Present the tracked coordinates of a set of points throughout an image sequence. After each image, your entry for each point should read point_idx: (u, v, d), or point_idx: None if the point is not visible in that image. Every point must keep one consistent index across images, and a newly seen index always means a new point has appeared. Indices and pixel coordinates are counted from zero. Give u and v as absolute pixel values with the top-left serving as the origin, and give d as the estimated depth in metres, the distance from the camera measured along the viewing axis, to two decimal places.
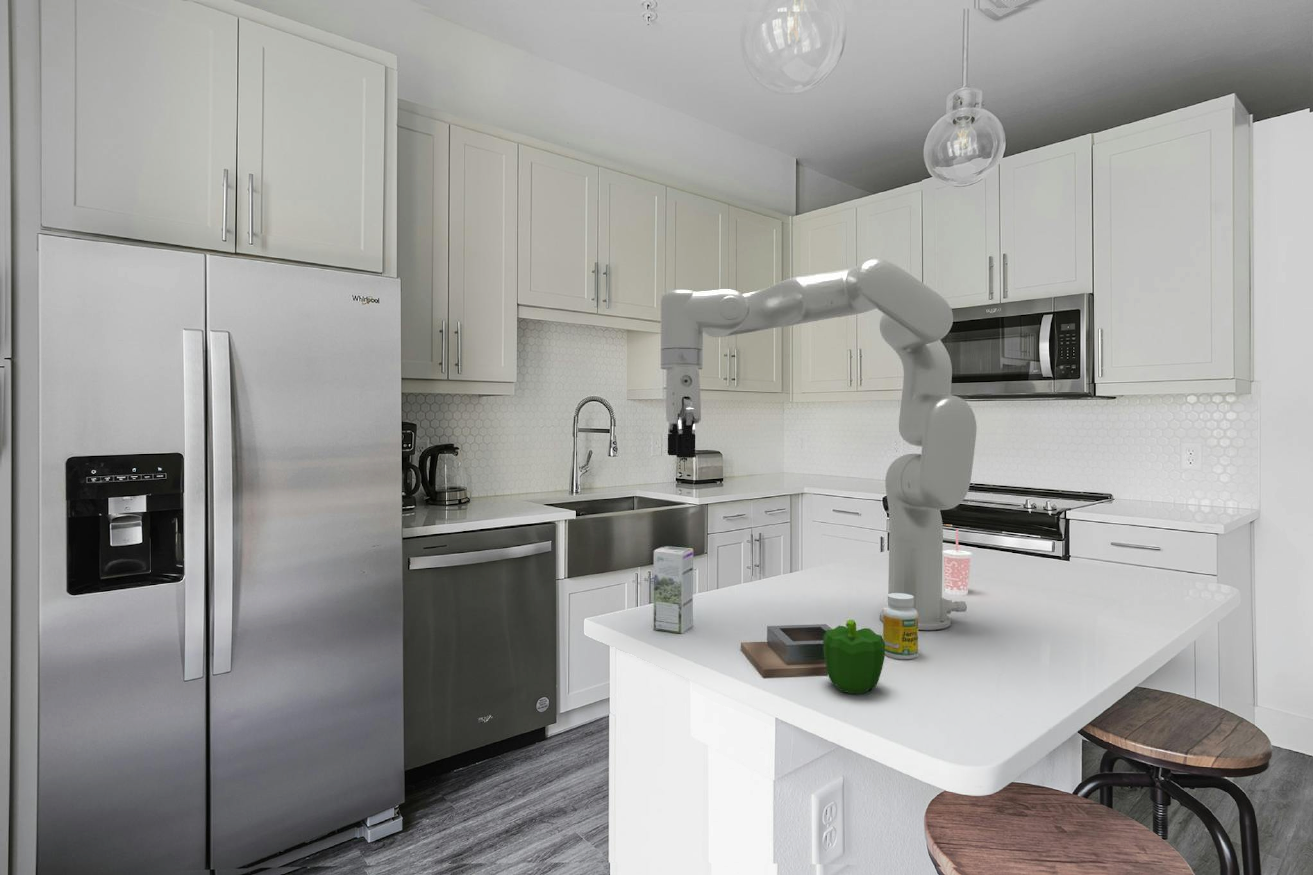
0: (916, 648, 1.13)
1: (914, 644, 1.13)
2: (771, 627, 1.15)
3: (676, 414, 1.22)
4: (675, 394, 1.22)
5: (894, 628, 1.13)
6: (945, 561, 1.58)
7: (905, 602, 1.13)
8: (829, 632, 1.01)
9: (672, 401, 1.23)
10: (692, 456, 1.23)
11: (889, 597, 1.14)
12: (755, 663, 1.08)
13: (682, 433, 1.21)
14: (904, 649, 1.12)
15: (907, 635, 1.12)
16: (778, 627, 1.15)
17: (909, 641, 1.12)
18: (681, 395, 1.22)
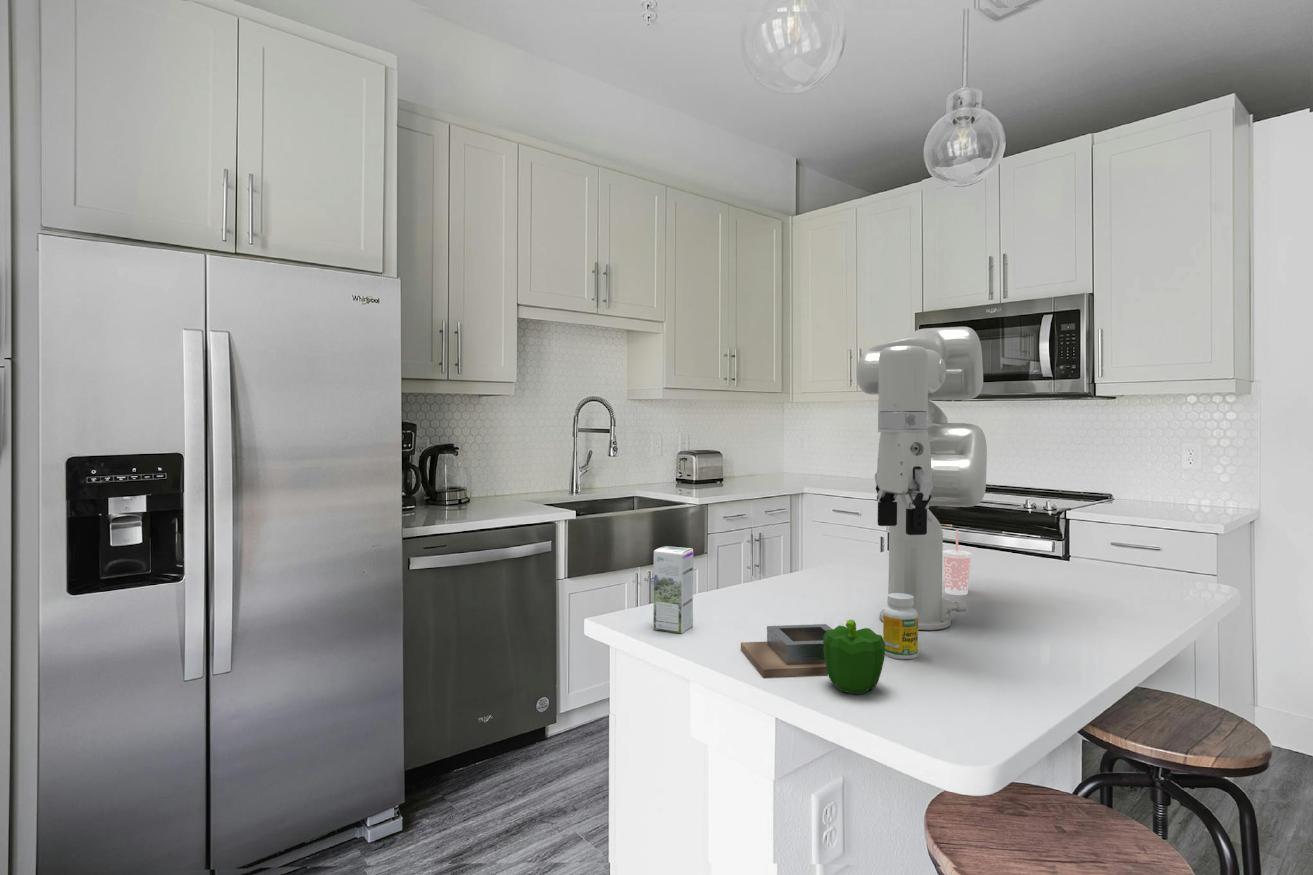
0: (916, 648, 1.13)
1: (914, 644, 1.13)
2: (771, 627, 1.15)
3: (906, 486, 1.09)
4: (905, 464, 1.09)
5: (894, 628, 1.13)
6: (945, 561, 1.58)
7: (905, 602, 1.13)
8: (829, 632, 1.01)
9: (899, 471, 1.10)
10: (923, 533, 1.09)
11: (889, 597, 1.14)
12: (755, 663, 1.08)
13: (915, 508, 1.08)
14: (904, 649, 1.12)
15: (907, 635, 1.12)
16: (778, 627, 1.15)
17: (909, 641, 1.12)
18: (912, 465, 1.09)
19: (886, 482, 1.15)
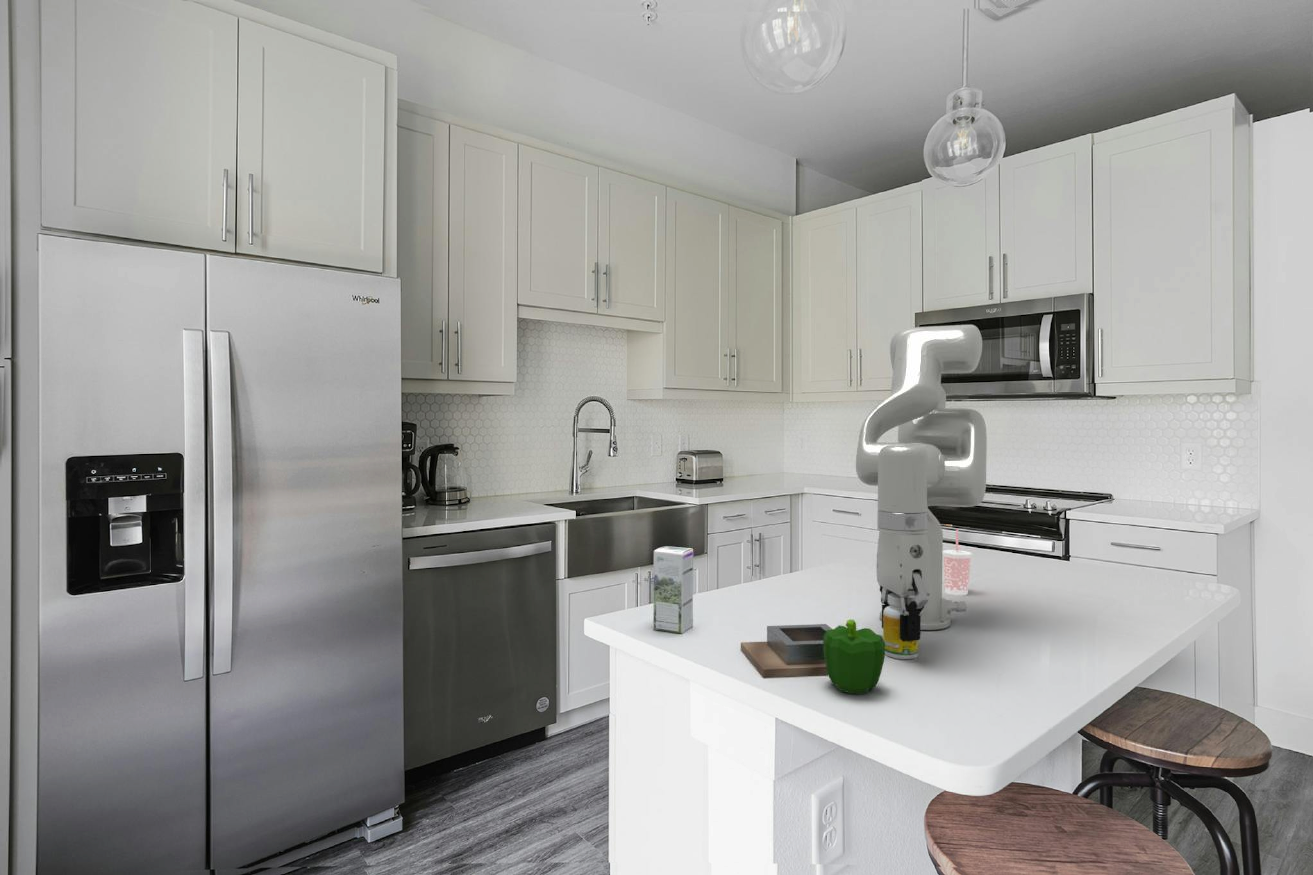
0: (916, 648, 1.13)
1: (914, 644, 1.13)
2: (771, 627, 1.15)
3: (906, 589, 1.10)
4: (904, 566, 1.10)
5: (894, 628, 1.13)
6: (945, 561, 1.58)
7: None
8: (829, 632, 1.01)
9: (899, 573, 1.11)
10: (917, 638, 1.12)
11: (889, 597, 1.14)
12: (755, 663, 1.08)
13: (908, 615, 1.10)
14: (904, 649, 1.12)
15: None
16: (778, 627, 1.15)
17: (909, 641, 1.12)
18: (911, 568, 1.10)
19: (885, 580, 1.15)
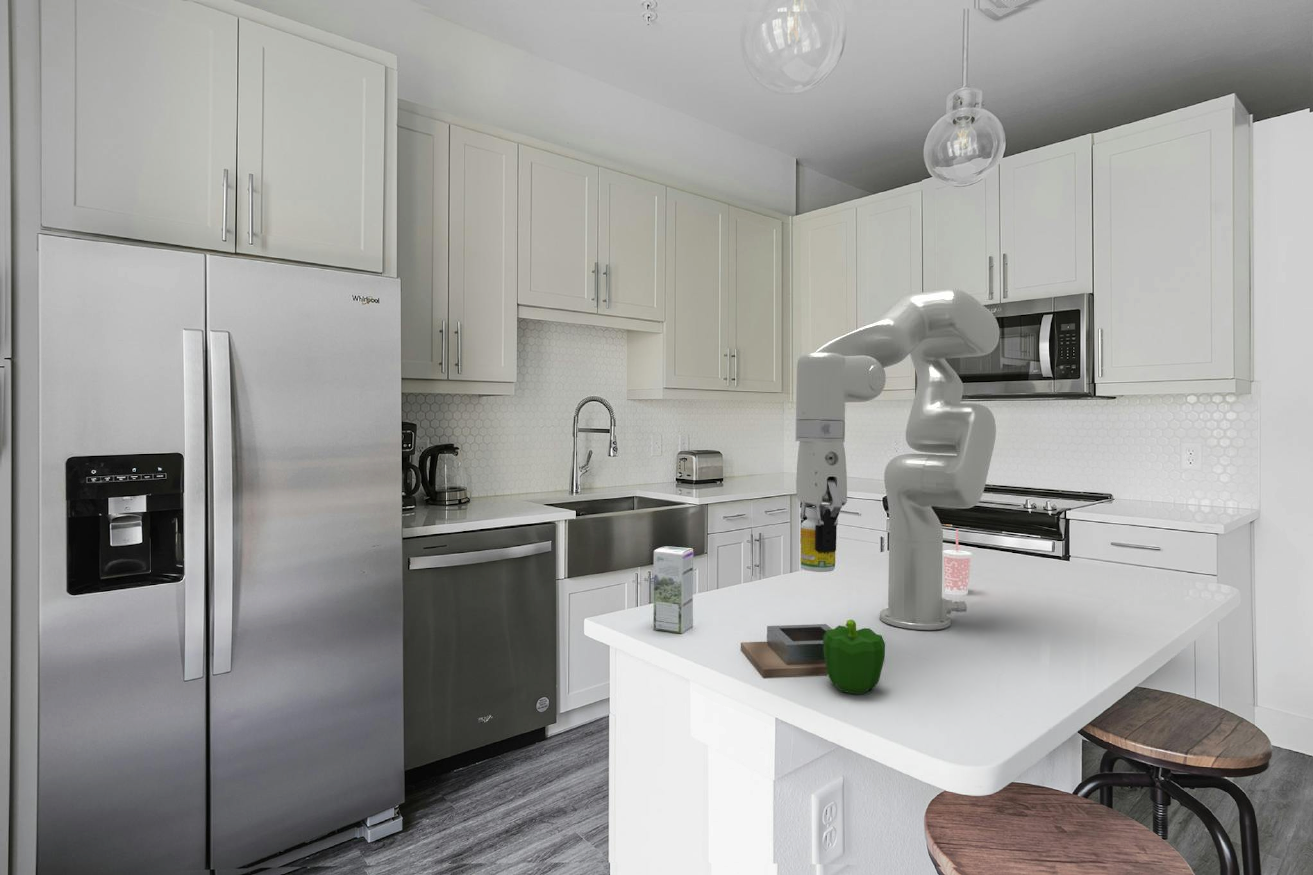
0: (833, 560, 1.10)
1: (831, 557, 1.09)
2: (771, 627, 1.15)
3: (820, 497, 1.06)
4: (819, 473, 1.06)
5: (810, 539, 1.09)
6: (945, 561, 1.58)
7: None
8: (829, 632, 1.01)
9: (814, 481, 1.07)
10: (833, 550, 1.08)
11: (806, 509, 1.11)
12: (755, 663, 1.08)
13: (823, 524, 1.07)
14: (820, 561, 1.09)
15: None
16: (778, 627, 1.15)
17: (826, 553, 1.09)
18: (826, 475, 1.06)
19: (803, 492, 1.12)
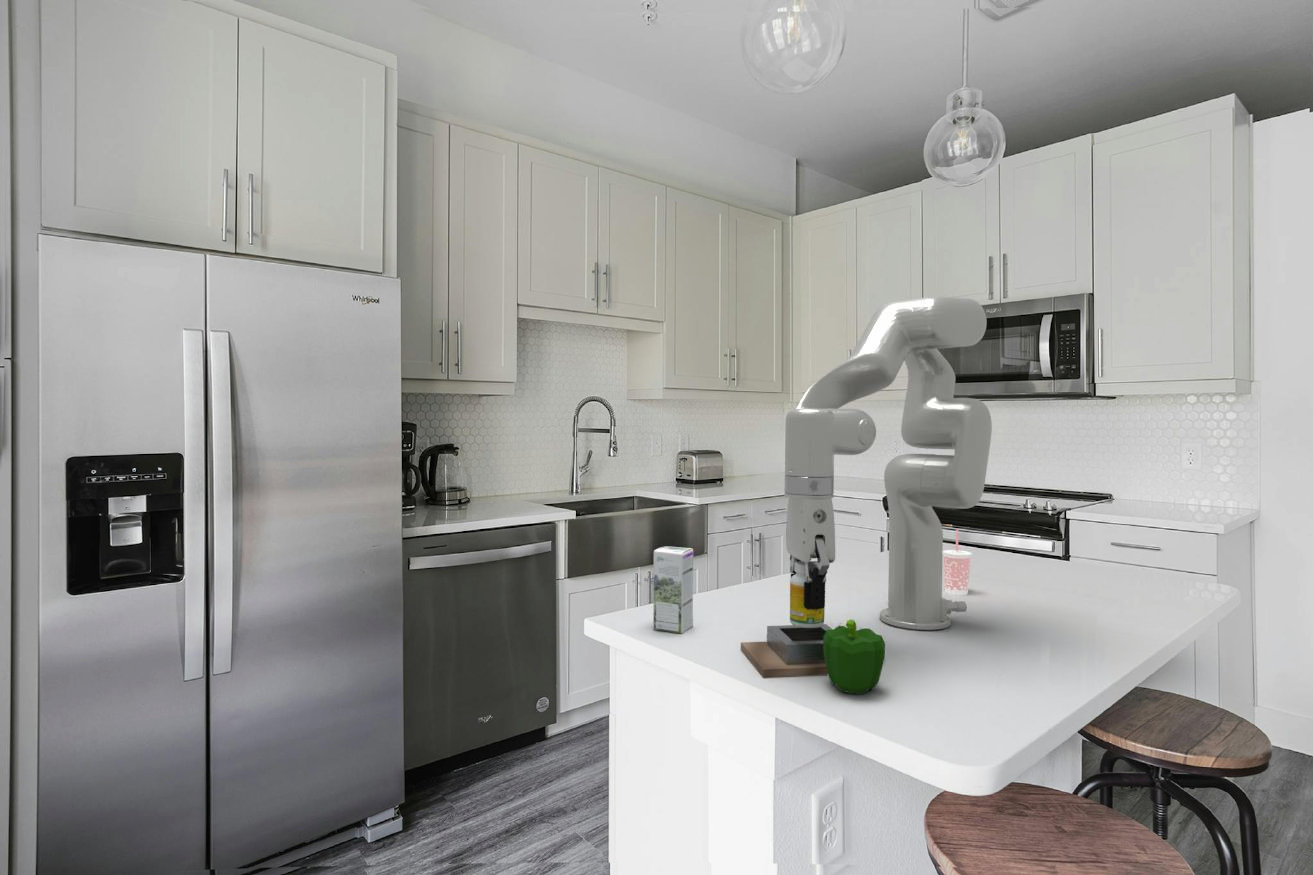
0: (822, 616, 1.10)
1: (820, 613, 1.09)
2: (771, 627, 1.15)
3: (808, 555, 1.06)
4: (807, 531, 1.06)
5: (799, 596, 1.09)
6: (945, 561, 1.58)
7: None
8: (829, 632, 1.01)
9: (802, 538, 1.07)
10: (821, 607, 1.08)
11: (795, 564, 1.11)
12: (755, 663, 1.08)
13: (812, 582, 1.07)
14: (809, 618, 1.09)
15: None
16: (778, 627, 1.15)
17: (814, 609, 1.09)
18: (814, 533, 1.06)
19: (792, 547, 1.12)
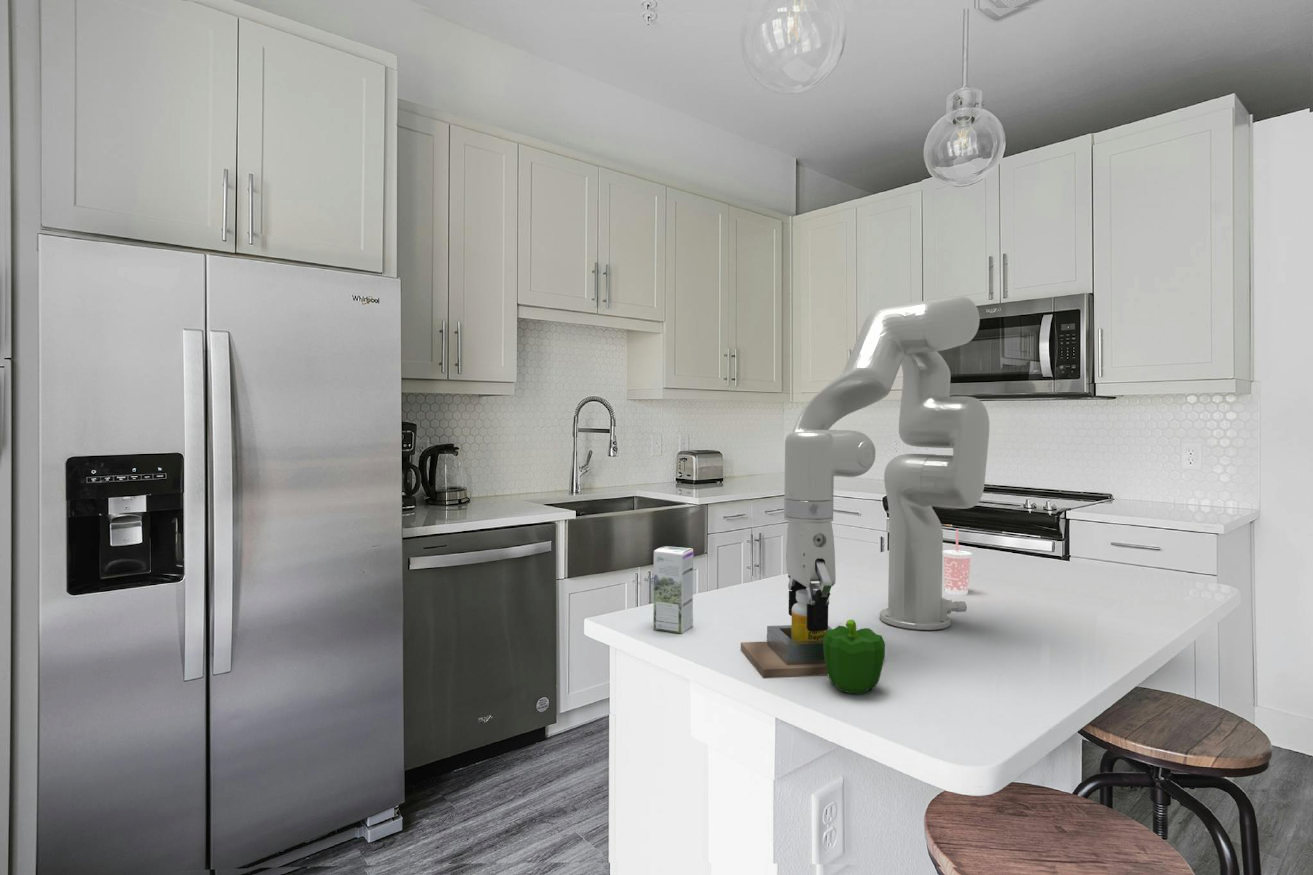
0: None
1: None
2: (771, 627, 1.15)
3: (808, 579, 1.06)
4: (807, 556, 1.06)
5: (800, 625, 1.09)
6: (945, 561, 1.58)
7: None
8: (829, 632, 1.01)
9: (802, 562, 1.07)
10: (825, 629, 1.07)
11: (797, 593, 1.11)
12: (755, 663, 1.08)
13: (815, 604, 1.06)
14: None
15: (813, 632, 1.09)
16: (778, 627, 1.15)
17: (816, 639, 1.09)
18: (814, 557, 1.06)
19: (792, 570, 1.12)
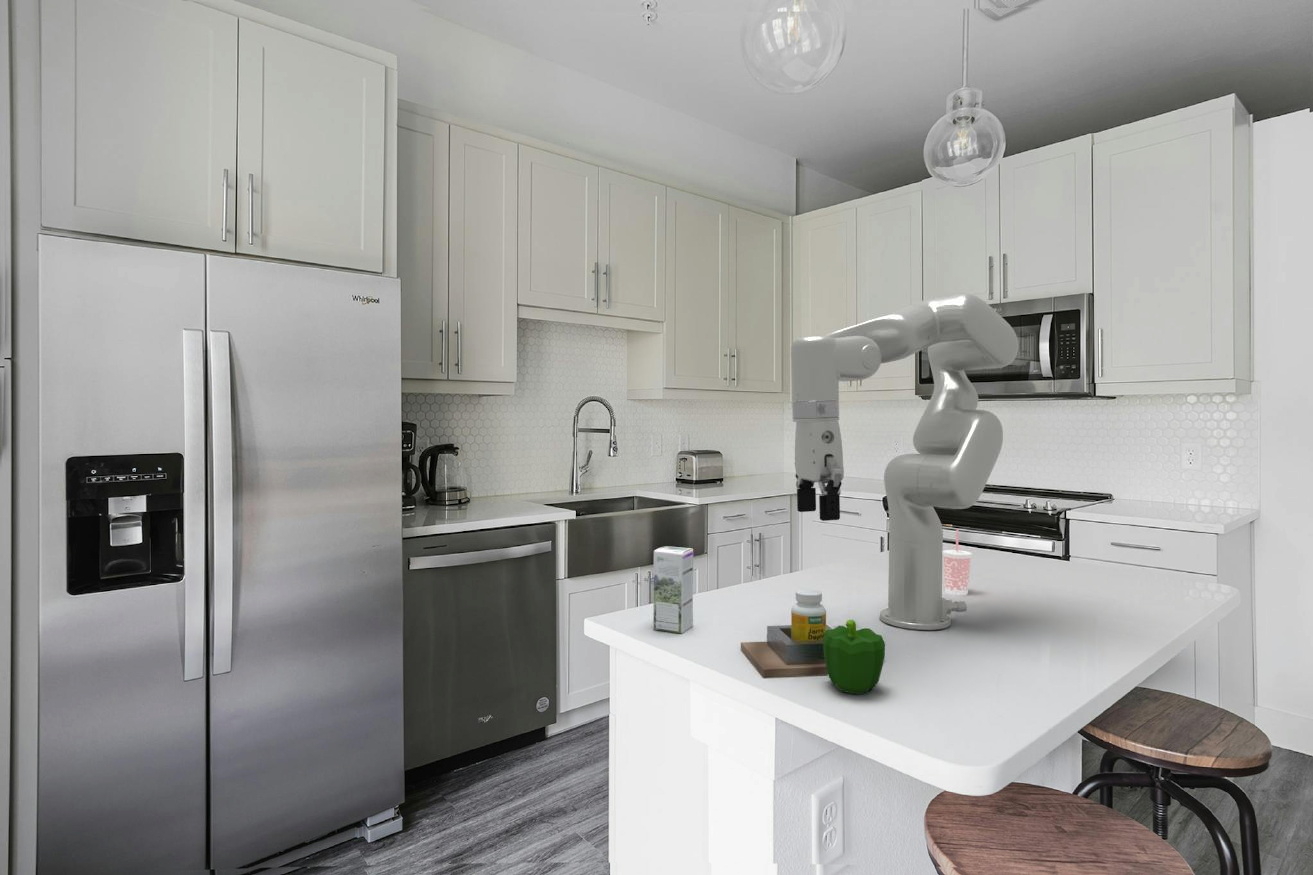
0: None
1: None
2: (771, 627, 1.15)
3: (818, 474, 1.13)
4: (816, 452, 1.13)
5: (800, 625, 1.09)
6: (945, 561, 1.58)
7: (811, 599, 1.09)
8: (829, 632, 1.01)
9: (812, 459, 1.14)
10: (837, 518, 1.13)
11: (796, 593, 1.11)
12: (755, 663, 1.08)
13: (827, 494, 1.12)
14: None
15: (813, 632, 1.09)
16: (778, 627, 1.15)
17: (816, 638, 1.09)
18: (823, 453, 1.12)
19: (802, 470, 1.18)
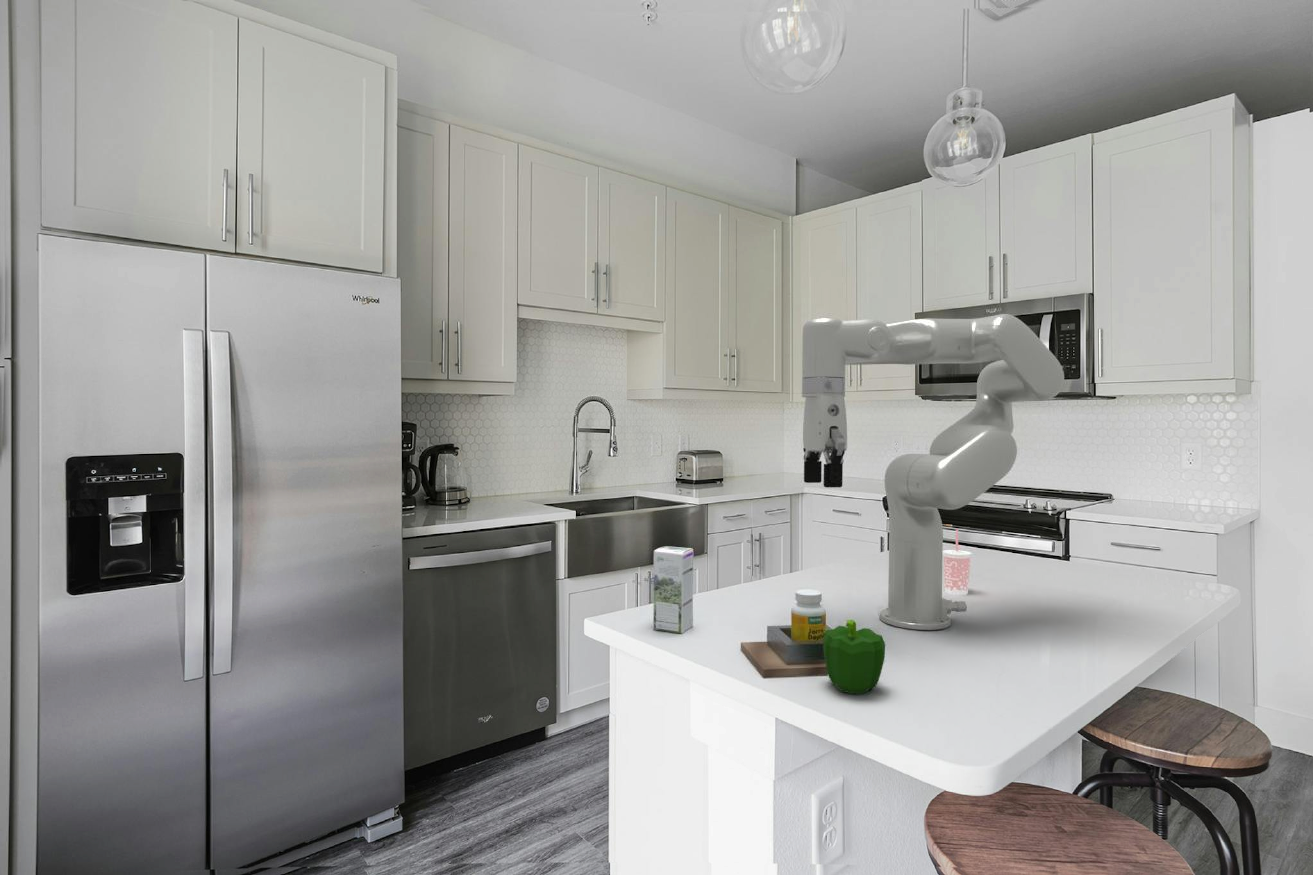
0: None
1: None
2: (771, 627, 1.15)
3: (823, 444, 1.22)
4: (822, 423, 1.22)
5: (800, 625, 1.09)
6: (945, 561, 1.58)
7: (811, 599, 1.09)
8: (829, 632, 1.01)
9: (818, 430, 1.23)
10: (839, 486, 1.22)
11: (796, 593, 1.11)
12: (755, 663, 1.08)
13: (831, 463, 1.21)
14: None
15: (813, 632, 1.09)
16: (778, 627, 1.15)
17: (816, 638, 1.09)
18: (829, 424, 1.22)
19: (809, 442, 1.27)
